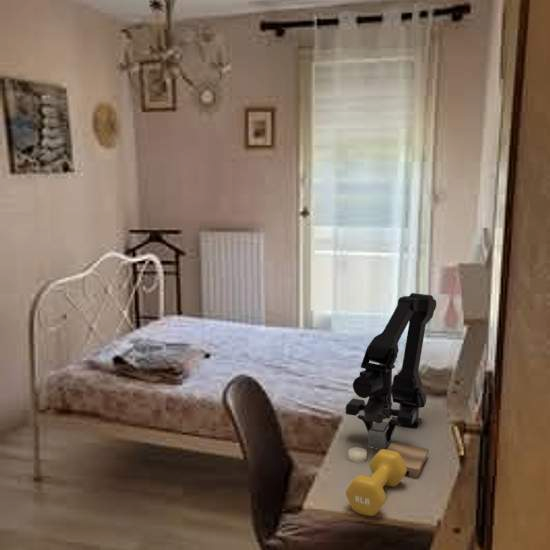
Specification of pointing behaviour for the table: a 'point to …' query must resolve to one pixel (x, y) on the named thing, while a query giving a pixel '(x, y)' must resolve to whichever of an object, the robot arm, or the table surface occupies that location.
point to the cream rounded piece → (357, 454)
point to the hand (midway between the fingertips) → (380, 440)
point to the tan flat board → (411, 457)
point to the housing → (378, 435)
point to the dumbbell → (376, 482)
